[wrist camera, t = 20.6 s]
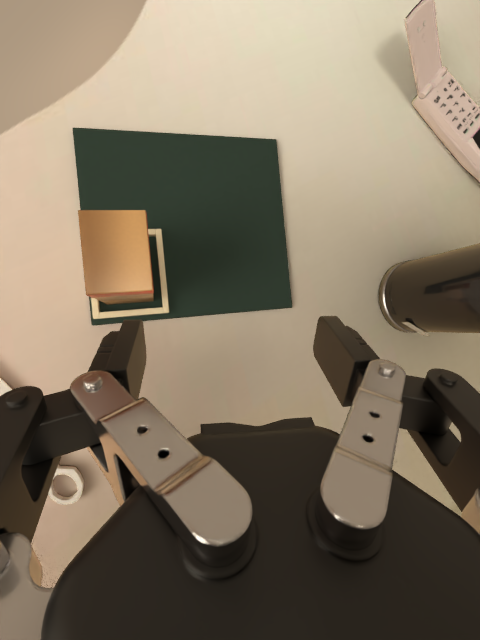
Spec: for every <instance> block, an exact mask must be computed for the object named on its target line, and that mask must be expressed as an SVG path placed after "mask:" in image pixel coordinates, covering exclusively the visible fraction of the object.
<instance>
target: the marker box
mask: <svg viewBox="0 0 480 640" xmlns="http://www.w3.org/2000/svg"><path fill="white" fill-rule="evenodd" d="M78 215H79V226H80V236H81V247H82V257H83V267H84V278H85V288H86V295H87V296H89V297H91V298H95V299H97V300H99V301H101V302H103V303H105V304H107V305H110V304H124V303H138V302H151V301H154V296H153V293H154V288H153V277H152V267H151V256H150V246H149V235H148V225H147V214H146V211H145V210H78Z"/></svg>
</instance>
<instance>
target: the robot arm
mask: <svg viewBox="0 0 480 640" xmlns="http://www.w3.org/2000/svg"><path fill="white" fill-rule="evenodd" d="M379 304H380V308H381V311H382V313H383V315H384V317H385V319H386V320H387V321H388V322H389V324H390V325H392V326H393V327H394V328H396V329H398V330H400V331H403V332H418V333H420V334H422V335H423V336H430V335H428V334H427V333H425V332H455V333H480V243H479V244H475V245H471V246H467V247H463V248H459V249H455V250H451V251H448V252H444V253H440V254H436V255H432V256H428V257H424V258H420V259H416V260H410V261H405V262H401V263H398V264H396V265H394V266H393V267H391V268H390V269H389V270H388V271H387V272H386V273H385V275H384V277H383V279H382V281H381V284H380V288H379ZM313 351H314V356H315V358H316V360H317V362H318V364H319V366H320V367H321V369H322V371H323V373H324V374H325V376H326V378H327V380H328V382H329V383H330V385H331V387H332V389H333V390H334V392H335V394H336V396H337V398H338V399H339V401H340V403H341V405H342V406H343V407H347V406H351V408H350V410H349V413H348V415H347V418H346V421H345V423H344V426H343V429H342V431H341V434H338V433H336V432H334V431H332V430H329V429H326V428H323V427H319V426H315V425H314V422H313V420H312V418H311V417H308V418H292V419H283V420H280V421H276V422H273V423H270V424H266V425H263V426H250V425H243V424H236V423H214V424H201V433H200V434H197V435H194V436H191V437H189V438H187V439H186V438H185V437H184V436H183V435H182V434H181V433H180V432H179V431H178V430H177V429H176V428H175V427H174V426H173V425H172V424H171V423H170V422H169V421H168V420H167V419H166V418H165V417H164V416H163V415H162V414H161V413H160V412H159V411H158V410H157V409H156V408H155V407H154V406H153V405H152V404H151V403H150V402H149V401H148V400H147V399H146V398H144V397H142V398H140V399H138V397H139V393H140V388H141V383H142V379H143V374H144V369H145V365H146V345H145V336H144V328H143V321H142V320H124V321H123V323H122V326H121V328H120V331H112V332H110V333H109V334H108V335H106V336H105V337H104V338H103V340H102V342H101V344H100V347H99V348H98V351H97V353H96V355H95V357H94V359H93V361H92V364H91V366H90V368H89V370H88V372H87V373H84V374H82V375H80V376H79V377H77V378H76V379H75V380H74V381H73V382H72V383H71V386H70V389H68V390H65V391H62V392H58V393H54V394H50V395H46V396H43V393H42V391H41V390H40V389H39V388H37V387H32V386H26V387H20V388H16V389H13V390H10V391H8V392H6V393H4V394H3V395H1V396H0V640H480V394H479V393H478V392H477V391H476V390H475V389H474V388H473V387H472V386H471V385H470V384H469V383H468V382H467V381H466V380H465V379H464V378H462V377H461V376H459V375H458V374H456V373H454V372H451V371H448V370H444V369H431V370H429V371H428V373H427V375H426V378H420V377H414V376H408V375H406V373H405V371H404V370H403V369H402V368H401V367H400V366H399V365H397V364H395V363H393V362H390V361H387V360H382V359H380V358H379V357H378V356H377V355H376V353H375V352H374V351H373V350H372V349H371V348H370V346H369V345H367V343H366V342H365V341H364V339H362V337H361V336H360V335H359V334H358V332H357V331H355V330H353V329H352V328H350V327H348V326H345V325H344V324H343V323H342V322H341V320H340V319H339V318H338V317H337V316H321V317H320V318H319V319H318V324H317V329H316V334H315V340H314V345H313ZM452 422H453V423H454V424H455V426H456V427H457V428H458V429H459V431H460V434H461V443H460V441H459V440H458V439H457V438H456V436H455V435H454V434H453V433H452V432H451V430H450V429H449V426H450V425H451V423H452ZM399 428H402V429H407V430H408V432H409V434H410V435H411V437H412V438H413V440H414V441H415V443H416V444H417V446H418V447H419V449H420V450H421V452H422V453H423V455H424V456H425V458H426V459H427V461H428V462H429V464H430V465H431V467H432V468H433V470H434V471H435V473H436V474H437V476H438V477H439V479H440V480H441V482H442V483H443V485H444V486H445V488H446V489H447V491H448V492H449V494H450V495H451V497H452V498H453V500H454V501H455V503H456V504H457V506H458V507H459V509H460V510H461V512H462V513H461V517H460V516H459V515H457V514H456V513H455V512H453V511H452V510H450V509H449V508H447V507H446V506H444V505H443V504H441V503H440V502H439V501H437V500H436V499H434V498H433V497H431V496H430V495H428V494H427V493H425V492H424V491H422V490H421V489H420V488H418V487H417V486H415V485H414V484H412V483H411V482H409V481H408V480H406V479H405V478H404V477H402V476H401V475H399V474H398V473H396V472H395V471H393V470H392V465H393V459H394V454H395V448H396V442H397V437H398V431H399ZM83 448H87V450H88V451H89V453H90V454H91V456H92V457H93V459H94V460H95V462H96V463H97V465H98V466H99V468H100V469H101V471H102V472H103V474H104V475H105V477H106V478H107V480H108V481H109V483H110V485H111V487H112V490H113V492H114V495H115V497H116V499H117V501H118V503H119V505H120V507H119V508H118V510H117V511H116V512H115V513H114V514H113V515H112V516H111V517H110V518H109V520H108V521H107V522H106V523H105V524H104V525H103V526H102V527H101V528H100V530H99V531H98V532H97V533H96V534H95V535H94V536H93V537H92V538H91V540H90V541H89V542H88V543H87V544H86V545H85V546H84V547H83V548H82V550H81V551H80V552H79V553H78V554H77V555H76V556H75V557H74V559H73V560H72V561H71V562H70V563H69V565H68V566H67V567H66V569H65V570H64V571H63V573H62V575H61V576H60V578H59V580H58V581H57V583H56V585H55V587H54V588H44V587H41V581H42V575H43V574H42V566H41V564H40V562H39V560H38V558H37V556H36V554H35V552H34V550H33V548H32V546H31V542H32V539H33V536H34V533H35V530H36V527H37V524H38V521H39V519H40V516H41V513H42V510H43V507H44V504H45V501H46V498H47V495H48V493H49V490H50V487H51V484H52V481H53V478H54V475H55V472H56V470H57V467H58V464H59V461H60V458H61V455H64V454H68V453H71V452H74V451H77V450H80V449H83Z"/></svg>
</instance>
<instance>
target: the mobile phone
mask: <svg viewBox="0 0 480 640" xmlns="http://www.w3.org/2000/svg"><path fill="white" fill-rule="evenodd" d="M404 20H405V27H406V32H407V39H408V45H409V51H410V57H411V62H412V67H413V72H414V77H415V82H416V87H417V93H418V94H417V96H416V97H415V98H414V99H413V101H412V105H413V106H414V108H415V109H416V110H417V111H418V113H419V114H420V115H421V116H422V118H423V119H424V120H425V122H426V123H427V124H428V125H429V127H430V128H431V129H432V130H433V132H434V133H435V134H436V135H437V137H438V138H439V139H440V140H441V141H442V143H443V144H444V145H445V146H446V147H447V148H448V150H449V151H450V152H451V153H452V154H453V156H454V157H455V158H456V159H457V160H458V162H459V163H460V164H461V165H462V166H463V167H464V168H465V169H466V170H467V171H468V172H469V173H470V174H471V175H473V176H474V177H475V178H476V179H477V180H478V181H479V182H480V108H479V107H478V105H477V104H476V103H475V102H474V101H473V100H472V99H471V97H470V96H469V95H468V94H467V93H466V92H465V90H464V89H463V88H462V87H461V86H460V84H459V83H458V82H457V81H456V80H455V79H454V77H453V76H452V75H451V74H450V73H449V71H447V68H446V67H442V64H441V55H440V47H439V39H438V31H437V22H436V8H435V2H434V0H421V1H420V2H419V3H418V4H417V5H416V6H415V7H414V8H413V9H412V11H411V12H410V13H409V14H408V16H407V17H406V18H405V19H404Z"/></svg>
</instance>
